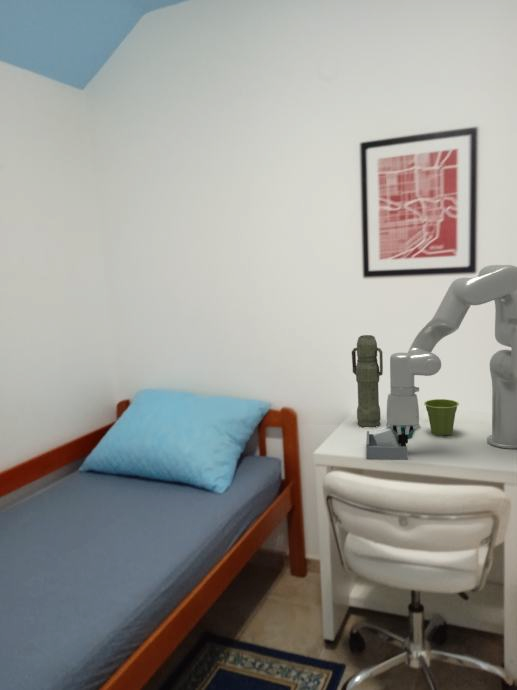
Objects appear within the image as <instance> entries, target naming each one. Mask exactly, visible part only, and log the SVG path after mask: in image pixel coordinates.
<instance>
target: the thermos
mask: <svg viewBox="0 0 517 690" xmlns="http://www.w3.org/2000/svg"><path fill="white" fill-rule="evenodd" d="M378 353H379V363H378V359H377V357H378ZM356 356H357V357H356ZM383 357H384V356H383V351H382V349H381V348H379V347H378V343H377V340H376V336H373V335H370V334H369V335H368V334H366V335H365V334H364V335H360V336H358V338H357V342H356V347H353V348H352V350H351V363H352V373H353V374H354V376H355V380H356V383H357V408H356V417H357V418H356V419H357V426H358V425H359V426H358V427H360V426H361V428H364V427H375V428H377V427H376V426H378V427H380V426H381V407H380V404H379V402H380V401H379V399H380V398H379V397H380V396H379V394H380V393H379V382H380V376H383V373H384V372H383V370H384V367H383V364H384V363H383V362H384V361H383ZM379 425H380V426H379Z"/></svg>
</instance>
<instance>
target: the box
mask: <svg viewBox="0 0 517 690" xmlns="http://www.w3.org/2000/svg"><path fill="white" fill-rule="evenodd" d="M373 435H374V433H370V431H369V430H367V431H366V439H365V440H366V443H365V445H366V446H365V447H366V448H365V450H366V459H367V460H401V461H402V460H403V461H405V460H408V458H409V457H408V456H409V455H408V452H409V451H408V446H406V447H404V445H403V447H401V446H400V447H385V446H377V444H376V441H375V439H374V436H373ZM396 435H397V438H398V434H396ZM400 445H401V443H400Z"/></svg>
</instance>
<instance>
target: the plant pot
mask: <svg viewBox="0 0 517 690" xmlns="http://www.w3.org/2000/svg"><path fill="white" fill-rule="evenodd" d="M423 404H424V406H425V408H426V412H427V415H428V421H429V425H430V433H432V434H433V435H435V436H440V437H444V436H450V435H452V434H453V431H454V424H455V418H456V413H457V410H458V406H459V405H460V403H459V401H456V400H452V399H445V398H436V399H429V400H426V401H425V402H424V403H423Z"/></svg>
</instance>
